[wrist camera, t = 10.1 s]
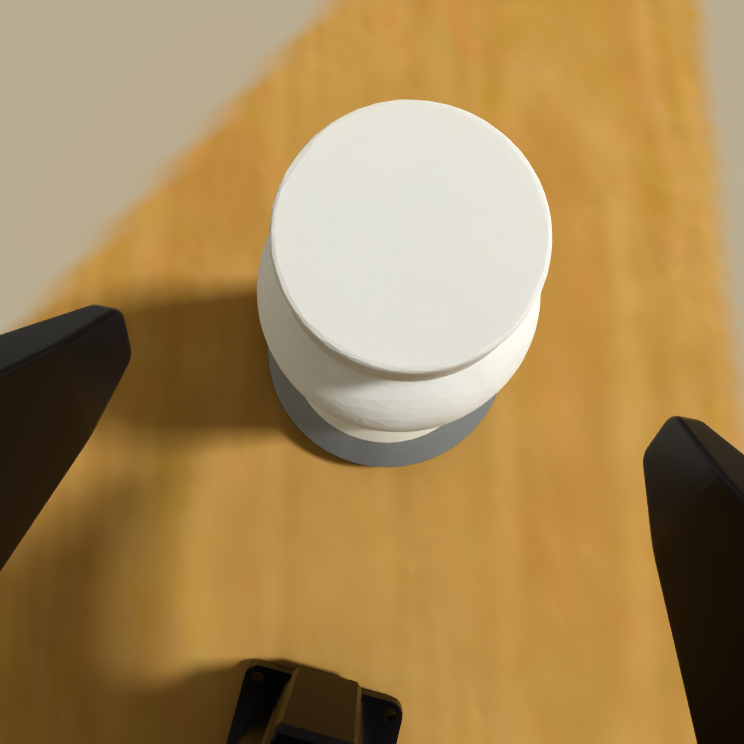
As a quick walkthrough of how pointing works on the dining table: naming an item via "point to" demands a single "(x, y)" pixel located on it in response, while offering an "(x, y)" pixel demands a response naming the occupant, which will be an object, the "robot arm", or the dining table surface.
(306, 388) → the supplement bottle
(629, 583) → the dining table surface
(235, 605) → the dining table surface
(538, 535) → the dining table surface
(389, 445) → the push button
